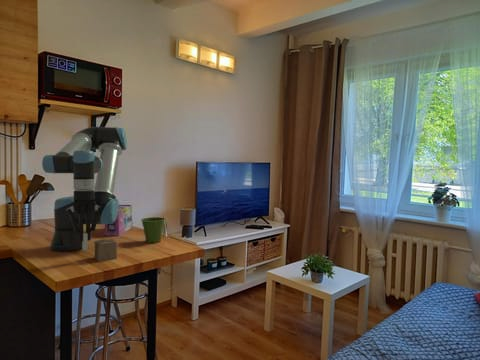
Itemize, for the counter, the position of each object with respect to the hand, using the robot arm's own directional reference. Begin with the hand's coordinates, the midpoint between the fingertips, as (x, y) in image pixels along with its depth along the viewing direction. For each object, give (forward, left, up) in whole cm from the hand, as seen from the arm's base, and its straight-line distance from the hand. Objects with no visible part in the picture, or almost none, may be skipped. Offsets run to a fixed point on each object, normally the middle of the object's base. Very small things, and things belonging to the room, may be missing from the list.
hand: (84, 249), depth 137 cm
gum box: (-48, +28, -5) cm, 56 cm away
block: (0, +4, -2) cm, 5 cm away
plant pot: (-16, +35, -5) cm, 39 cm away
